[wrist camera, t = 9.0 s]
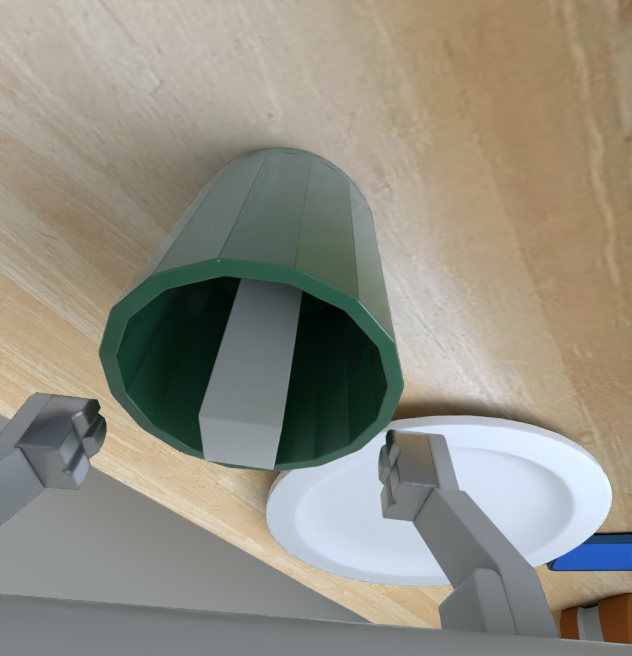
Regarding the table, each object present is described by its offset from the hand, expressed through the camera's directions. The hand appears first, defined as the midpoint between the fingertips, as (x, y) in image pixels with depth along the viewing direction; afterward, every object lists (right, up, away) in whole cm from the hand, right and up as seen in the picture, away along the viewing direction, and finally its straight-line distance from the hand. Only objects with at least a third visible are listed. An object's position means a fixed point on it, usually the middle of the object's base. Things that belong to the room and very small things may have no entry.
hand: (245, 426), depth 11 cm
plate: (+12, -13, +25) cm, 30 cm away
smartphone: (+34, -19, +29) cm, 48 cm away
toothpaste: (0, +7, +8) cm, 10 cm away
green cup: (0, +7, +9) cm, 11 cm away
